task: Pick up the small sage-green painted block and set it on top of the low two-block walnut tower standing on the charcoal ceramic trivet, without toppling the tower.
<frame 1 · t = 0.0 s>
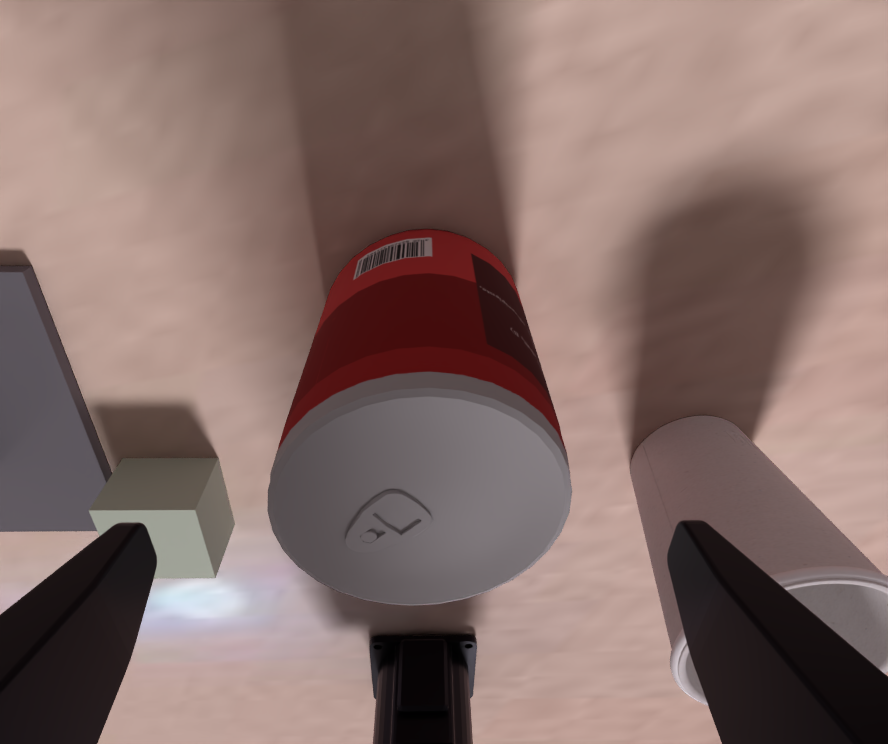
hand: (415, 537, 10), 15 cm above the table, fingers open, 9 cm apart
dixie cup: (686, 458, 29), on the table
sage block: (182, 490, 29), on the table
canned food: (422, 311, 24), on the table
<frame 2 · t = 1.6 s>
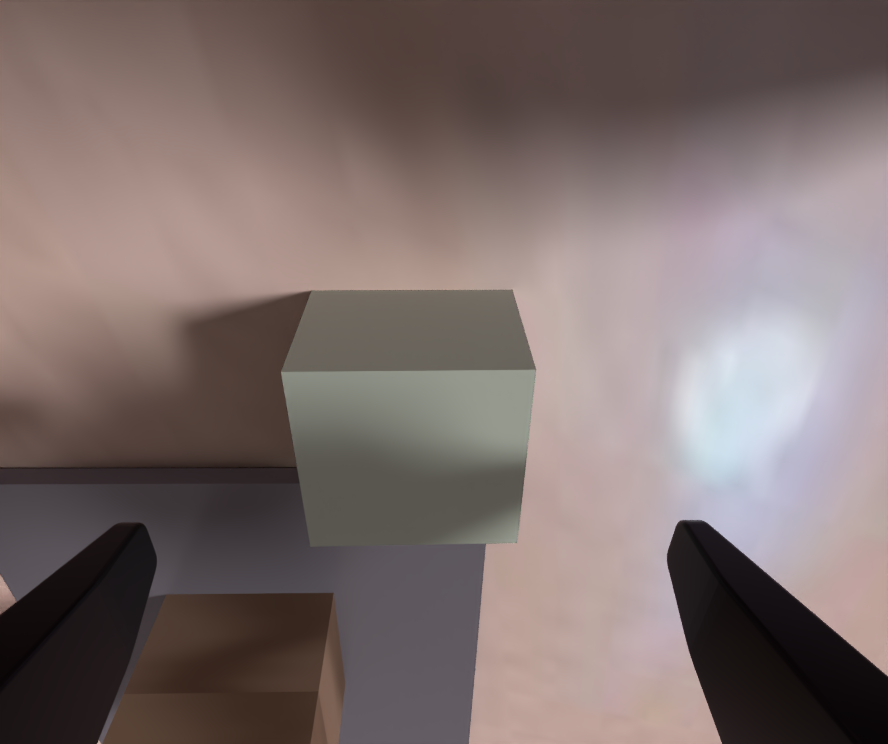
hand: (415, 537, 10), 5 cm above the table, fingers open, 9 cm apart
tower top: (237, 741, 17), point 4 cm above the table, touching tower base
sage block: (414, 371, 15), on the table
trivet: (266, 625, 20), on the table
tower base: (262, 642, 19), point 1 cm above the table, touching tower top, trivet
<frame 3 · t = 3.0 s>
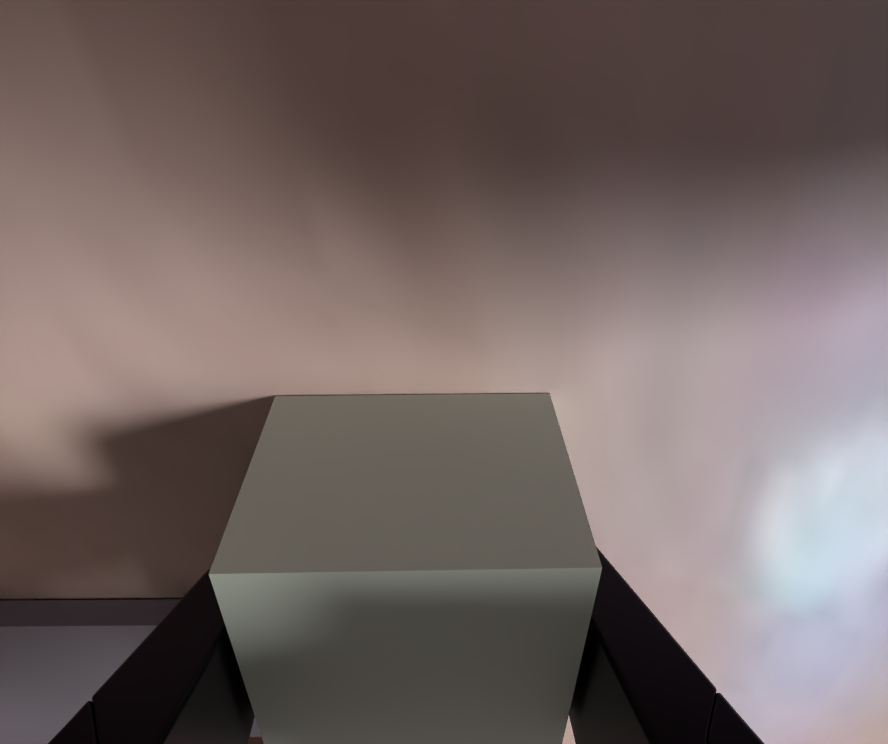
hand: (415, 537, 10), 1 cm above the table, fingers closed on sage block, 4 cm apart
sage block: (416, 494, 11), on the table, touching gripper
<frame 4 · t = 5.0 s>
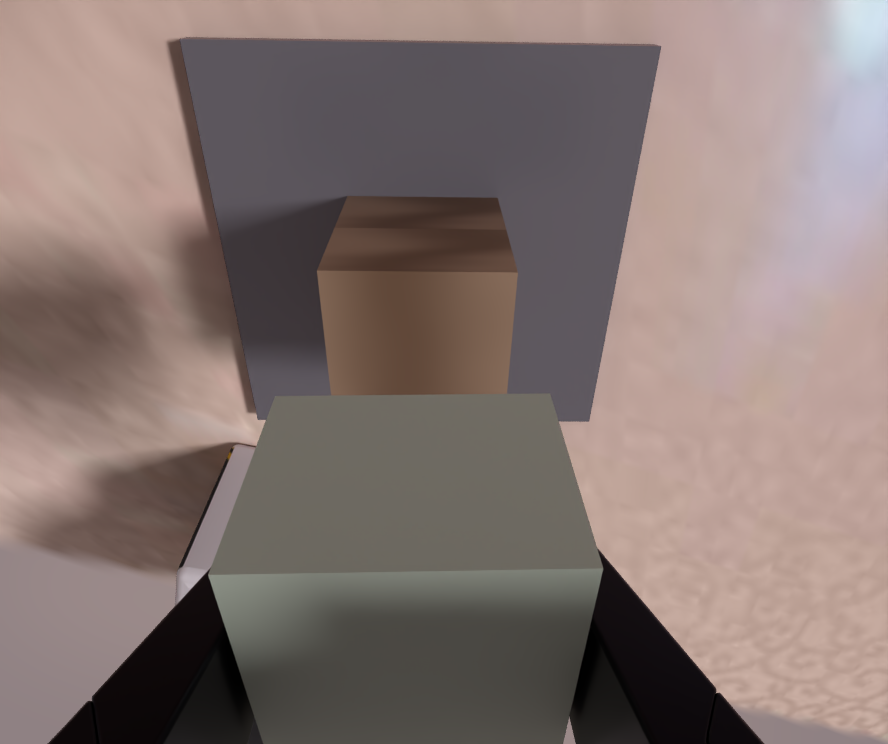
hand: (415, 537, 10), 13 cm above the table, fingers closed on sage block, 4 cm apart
tower top: (421, 305, 19), point 4 cm above the table, touching tower base
sage block: (416, 494, 11), point 12 cm above the table, touching gripper
trivet: (423, 259, 22), on the table
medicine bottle: (302, 505, 29), on the table
tower base: (423, 266, 21), point 1 cm above the table, touching tower top, trivet
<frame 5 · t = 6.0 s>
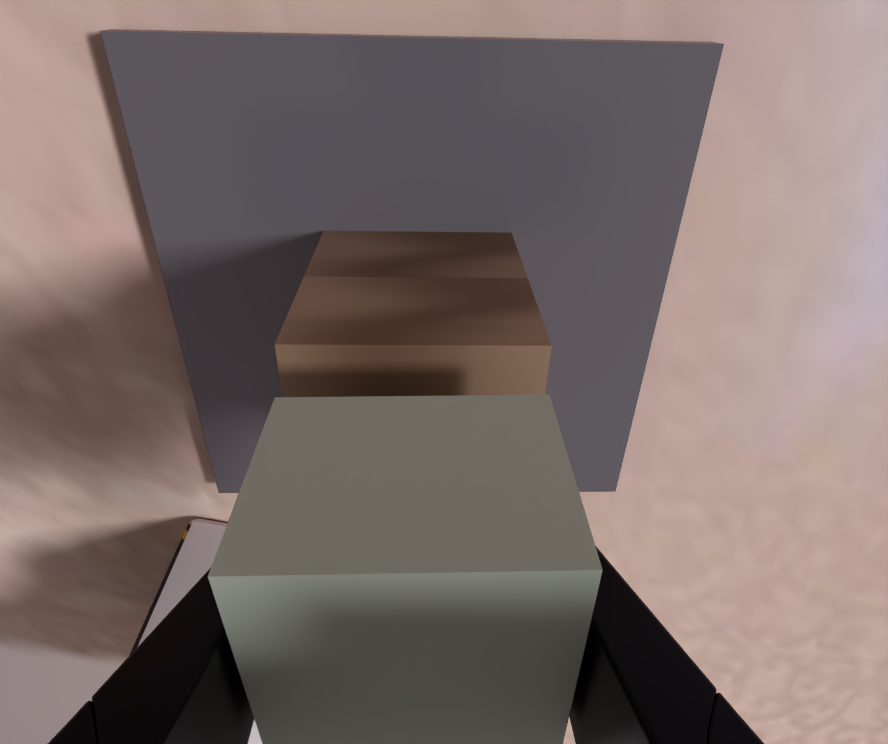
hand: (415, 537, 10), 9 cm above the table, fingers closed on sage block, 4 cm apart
tower top: (417, 371, 15), point 4 cm above the table, touching tower base
sage block: (415, 495, 11), point 8 cm above the table, touching gripper
trivet: (418, 306, 18), on the table
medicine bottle: (275, 583, 25), on the table
tower base: (418, 315, 17), point 1 cm above the table, touching tower top, trivet
when the fingers open (8 cm above the table, at t = 6.9 s): sage block stays where it is, resting on tower top.
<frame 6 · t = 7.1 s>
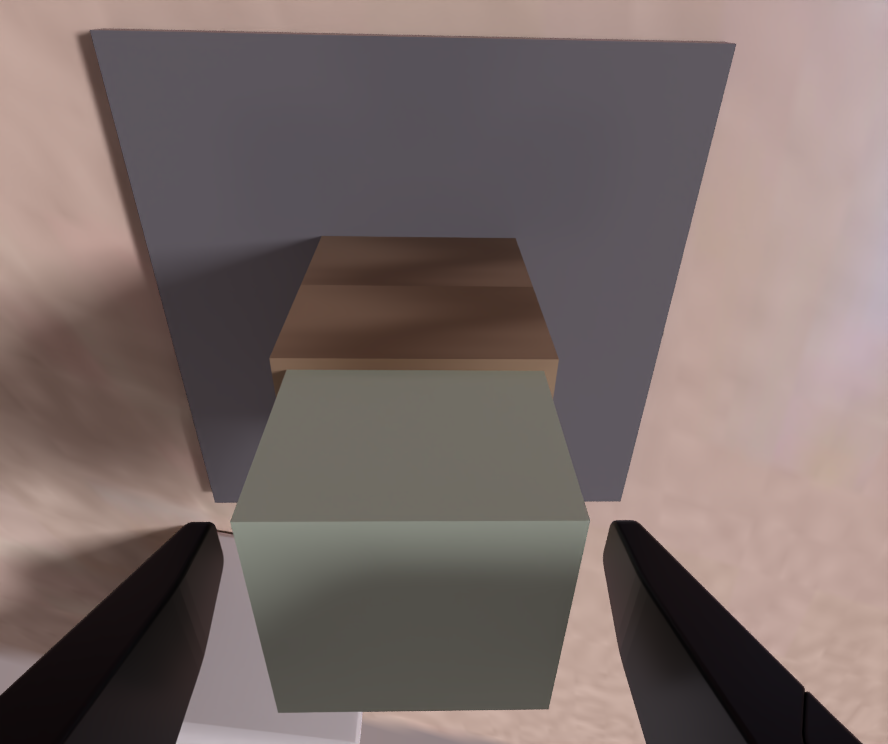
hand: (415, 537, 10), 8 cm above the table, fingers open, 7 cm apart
tower top: (418, 382, 14), point 4 cm above the table, touching sage block, tower base
sage block: (416, 466, 12), point 7 cm above the table, touching tower top
trivet: (419, 312, 17), on the table
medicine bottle: (273, 592, 24), on the table
tower base: (419, 322, 17), point 1 cm above the table, touching tower top, trivet
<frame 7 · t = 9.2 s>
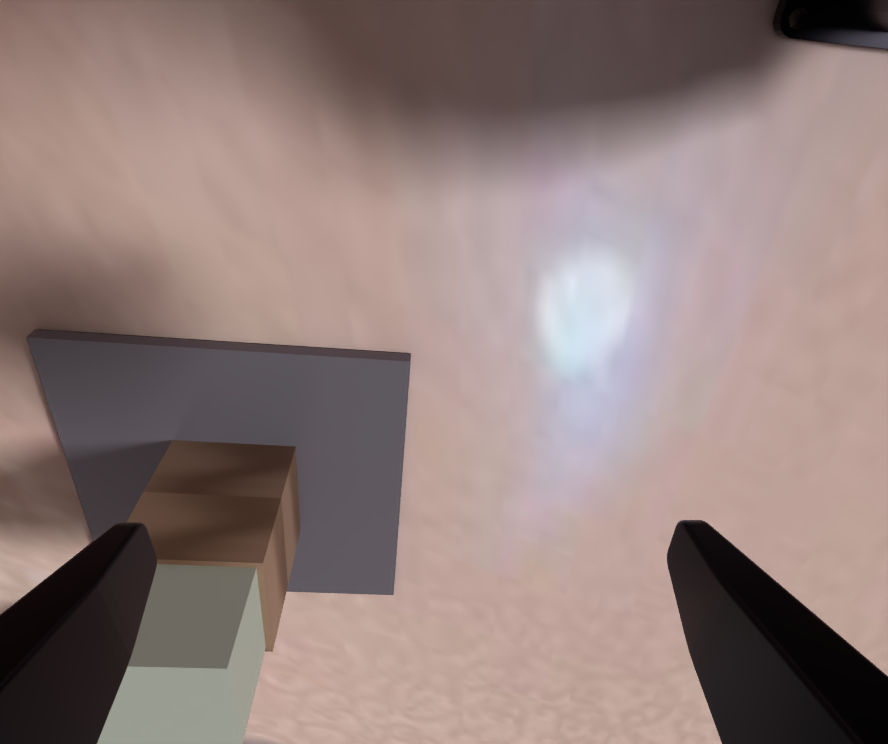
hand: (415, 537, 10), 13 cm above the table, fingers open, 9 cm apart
tower top: (220, 541, 23), point 4 cm above the table, touching sage block, tower base
sage block: (196, 607, 21), point 7 cm above the table, touching tower top
trivet: (243, 478, 26), on the table
tower base: (240, 487, 26), point 1 cm above the table, touching tower top, trivet
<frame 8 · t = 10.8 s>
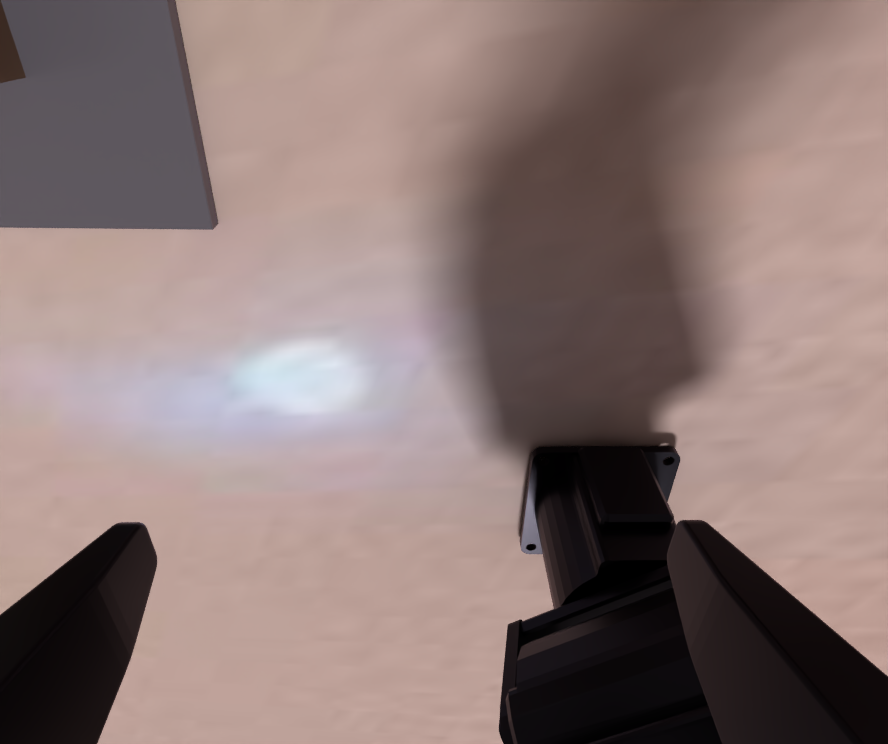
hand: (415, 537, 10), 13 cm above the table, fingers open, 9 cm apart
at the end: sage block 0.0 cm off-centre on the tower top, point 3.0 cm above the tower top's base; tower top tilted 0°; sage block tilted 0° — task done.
